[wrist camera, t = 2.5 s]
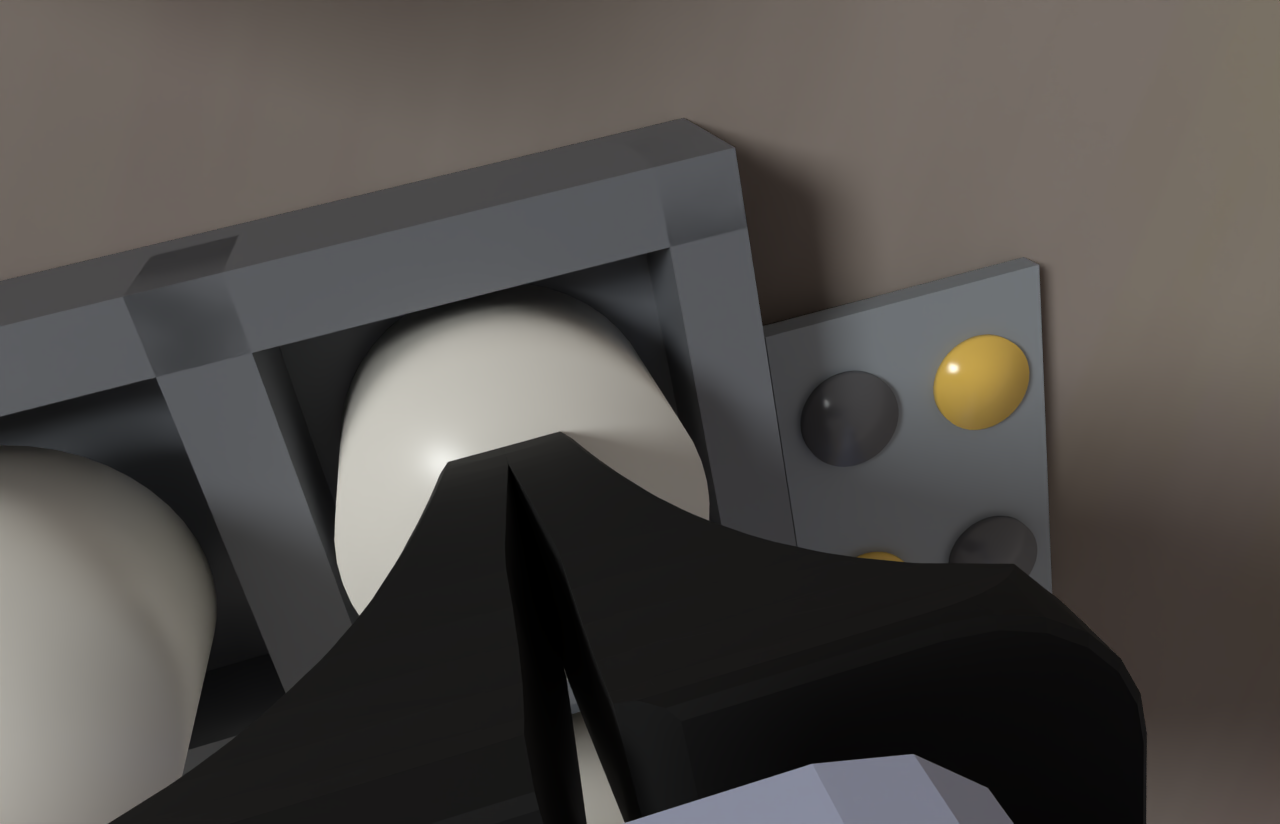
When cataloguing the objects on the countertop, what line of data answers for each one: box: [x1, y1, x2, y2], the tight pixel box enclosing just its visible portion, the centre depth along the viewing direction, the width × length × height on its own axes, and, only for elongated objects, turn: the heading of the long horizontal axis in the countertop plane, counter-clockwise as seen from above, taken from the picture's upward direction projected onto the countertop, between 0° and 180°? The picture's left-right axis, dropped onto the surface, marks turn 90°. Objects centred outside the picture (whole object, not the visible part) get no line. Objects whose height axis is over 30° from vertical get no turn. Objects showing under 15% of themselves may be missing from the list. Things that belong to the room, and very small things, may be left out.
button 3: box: [334, 284, 710, 680], centre depth 13 cm, size 4×4×3 cm
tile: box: [763, 257, 1052, 594], centre depth 17 cm, size 6×4×1 cm, turn 11°
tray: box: [0, 118, 796, 776], centre depth 15 cm, size 12×12×2 cm
